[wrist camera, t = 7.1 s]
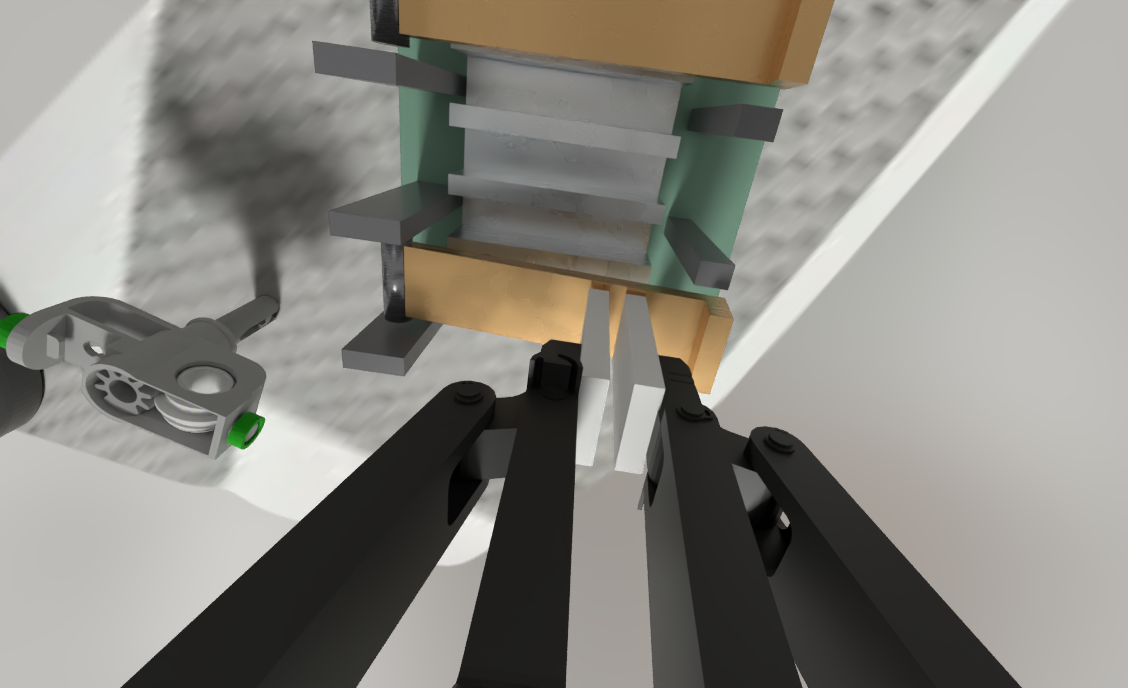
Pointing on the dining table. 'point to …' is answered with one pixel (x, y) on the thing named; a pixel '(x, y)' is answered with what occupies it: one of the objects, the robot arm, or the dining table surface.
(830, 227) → the dining table surface
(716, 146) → the socket board
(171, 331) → the mechanical component
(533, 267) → the strap
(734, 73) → the strap
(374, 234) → the set of grey pegs
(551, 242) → the heatsink
